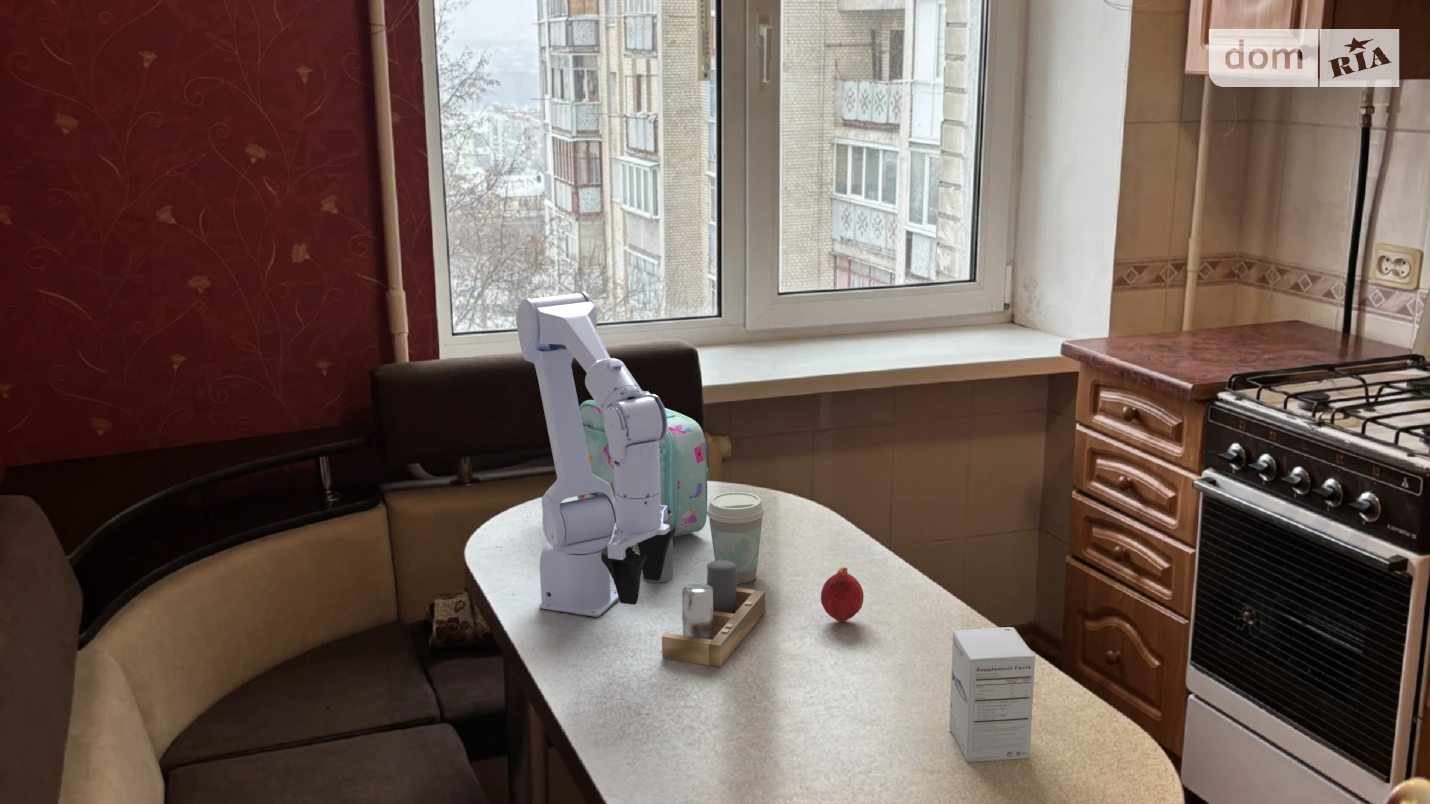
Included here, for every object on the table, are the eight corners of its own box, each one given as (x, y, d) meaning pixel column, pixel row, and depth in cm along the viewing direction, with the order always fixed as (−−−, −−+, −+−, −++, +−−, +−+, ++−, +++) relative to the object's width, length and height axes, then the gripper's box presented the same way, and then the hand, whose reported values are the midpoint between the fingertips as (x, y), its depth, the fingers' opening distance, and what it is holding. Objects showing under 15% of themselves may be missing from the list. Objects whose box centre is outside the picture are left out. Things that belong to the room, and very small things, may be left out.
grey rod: (679, 651, 166) (678, 594, 163) (687, 637, 169) (686, 582, 167) (709, 654, 165) (708, 597, 163) (716, 640, 168) (715, 584, 166)
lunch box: (564, 512, 217) (558, 391, 211) (612, 497, 223) (607, 379, 218) (666, 554, 198) (662, 422, 192) (715, 537, 204) (712, 409, 199)
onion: (861, 632, 170) (861, 577, 168) (818, 629, 171) (818, 574, 169) (865, 614, 175) (865, 560, 173) (823, 611, 177) (823, 558, 174)
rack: (662, 657, 164) (661, 635, 163) (711, 603, 180) (711, 582, 179) (720, 667, 161) (719, 644, 160) (765, 611, 177) (765, 590, 176)
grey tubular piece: (677, 572, 190) (676, 508, 188) (666, 584, 186) (665, 518, 184) (649, 569, 192) (647, 505, 189) (638, 580, 188) (636, 515, 185)
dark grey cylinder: (703, 623, 173) (703, 569, 171) (712, 612, 177) (712, 558, 175) (731, 628, 172) (731, 573, 170) (739, 616, 176) (740, 562, 174)
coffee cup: (699, 583, 187) (697, 506, 183) (720, 561, 194) (719, 487, 191) (753, 591, 183) (752, 513, 180) (773, 569, 191) (772, 494, 188)
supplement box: (947, 729, 146) (951, 628, 142) (1010, 725, 146) (1015, 625, 143) (965, 764, 139) (969, 658, 135) (1031, 759, 139) (1037, 655, 136)
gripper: (643, 514, 151) (647, 618, 155) (688, 476, 164) (690, 573, 168) (590, 507, 154) (594, 610, 157) (638, 470, 167) (641, 566, 171)
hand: (640, 590), depth 163 cm, fingers open, 7 cm apart
